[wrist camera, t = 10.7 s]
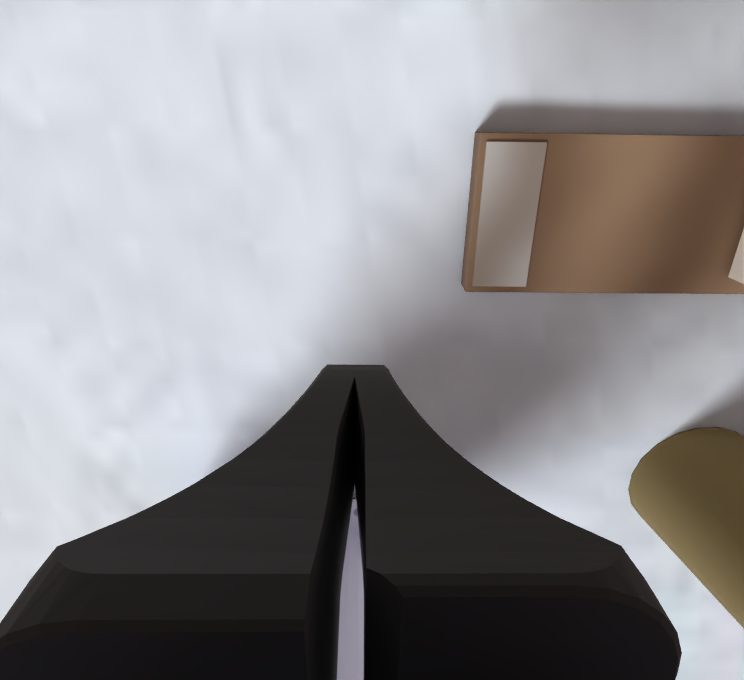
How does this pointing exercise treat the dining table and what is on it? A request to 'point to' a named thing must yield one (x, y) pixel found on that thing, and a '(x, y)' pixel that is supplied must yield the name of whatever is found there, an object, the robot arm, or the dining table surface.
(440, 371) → the dining table surface
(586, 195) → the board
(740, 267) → the cream cube block
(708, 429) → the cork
